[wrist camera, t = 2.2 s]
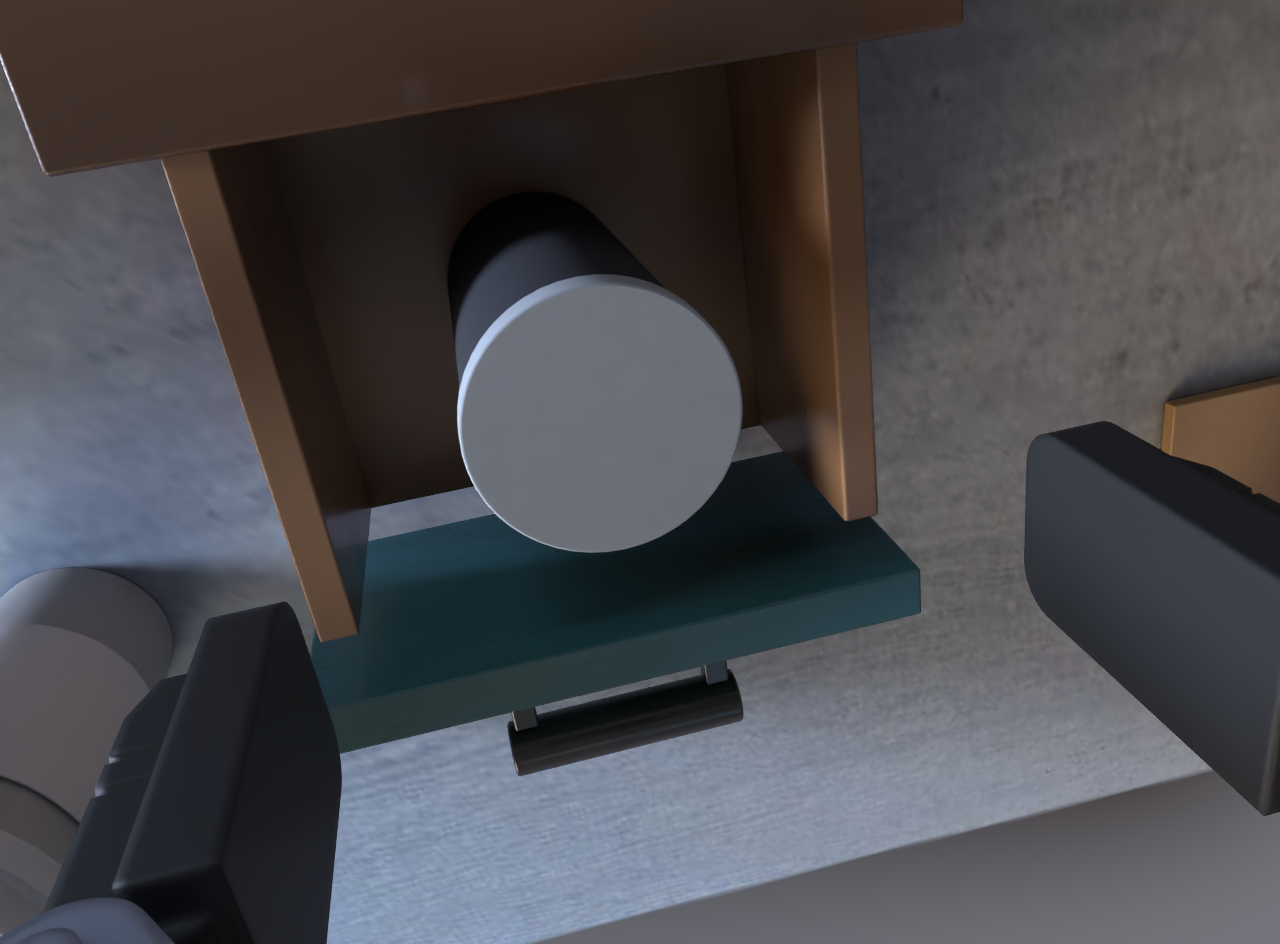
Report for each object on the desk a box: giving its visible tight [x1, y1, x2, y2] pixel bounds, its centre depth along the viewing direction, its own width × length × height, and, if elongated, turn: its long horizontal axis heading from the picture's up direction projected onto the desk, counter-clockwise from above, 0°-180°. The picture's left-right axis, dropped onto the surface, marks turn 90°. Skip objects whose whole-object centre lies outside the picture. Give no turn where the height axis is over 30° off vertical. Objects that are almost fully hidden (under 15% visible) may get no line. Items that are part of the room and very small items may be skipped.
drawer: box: [160, 43, 921, 776], centre depth 23 cm, size 20×14×7 cm
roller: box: [447, 192, 743, 553], centre depth 20 cm, size 4×4×10 cm
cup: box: [0, 567, 173, 937], centre depth 22 cm, size 7×7×12 cm
